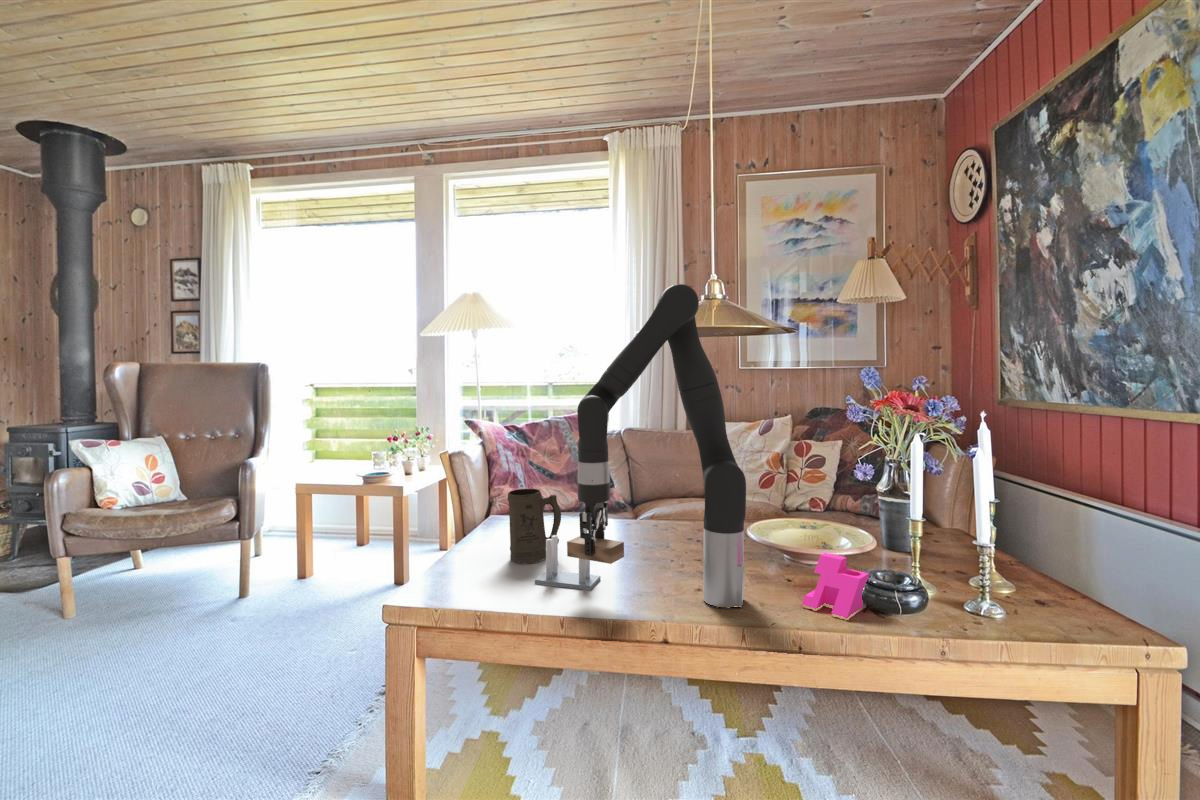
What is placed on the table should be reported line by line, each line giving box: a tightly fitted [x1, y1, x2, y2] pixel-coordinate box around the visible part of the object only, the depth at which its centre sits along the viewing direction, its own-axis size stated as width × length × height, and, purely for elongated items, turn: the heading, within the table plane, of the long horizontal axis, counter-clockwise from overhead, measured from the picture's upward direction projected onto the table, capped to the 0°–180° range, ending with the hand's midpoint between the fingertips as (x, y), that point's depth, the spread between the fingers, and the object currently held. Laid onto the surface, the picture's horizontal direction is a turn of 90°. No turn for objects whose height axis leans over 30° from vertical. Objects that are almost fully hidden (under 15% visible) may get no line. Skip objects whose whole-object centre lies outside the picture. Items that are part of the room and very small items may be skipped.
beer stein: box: [506, 488, 562, 564], centre depth 167 cm, size 15×11×20 cm
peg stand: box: [534, 534, 601, 591], centre depth 148 cm, size 15×8×11 cm, turn 72°
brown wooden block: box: [566, 535, 625, 565], centre depth 134 cm, size 12×6×4 cm, turn 58°
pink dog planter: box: [801, 552, 870, 618], centre depth 131 cm, size 12×10×10 cm
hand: (595, 550), depth 135 cm, fingers closed on brown wooden block, 7 cm apart
